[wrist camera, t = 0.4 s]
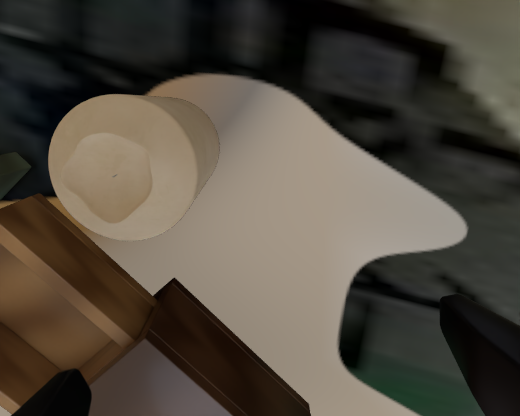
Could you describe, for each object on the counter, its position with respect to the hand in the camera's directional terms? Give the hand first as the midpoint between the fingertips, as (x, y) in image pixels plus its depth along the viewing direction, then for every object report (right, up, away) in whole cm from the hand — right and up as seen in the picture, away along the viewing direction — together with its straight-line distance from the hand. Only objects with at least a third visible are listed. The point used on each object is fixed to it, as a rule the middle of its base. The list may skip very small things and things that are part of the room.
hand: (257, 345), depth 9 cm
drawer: (-14, -1, +14) cm, 20 cm away
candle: (-5, +7, +13) cm, 16 cm away
